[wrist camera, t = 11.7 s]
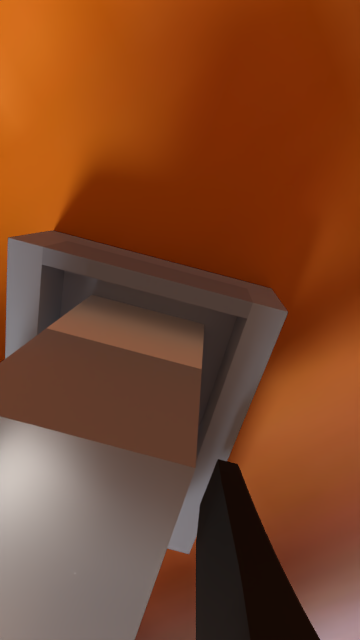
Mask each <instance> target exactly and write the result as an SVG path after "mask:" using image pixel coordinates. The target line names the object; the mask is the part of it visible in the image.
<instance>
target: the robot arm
mask: <svg viewBox="0 0 360 640" xmlns="http://www.w3.org/2000/svg"><path fill="white" fill-rule="evenodd" d="M196 640H320V639H319V637H318V635H317V633H316V631H315V630H314V628H313V626H312V624H311V623H310V621H309V619H308V617H307V615H306V613H305V611H304V610H303V608H302V606H301V604H300V602H299V600H298V598H297V596H296V594H295V592H294V590H293V588H292V586H291V584H290V582H289V580H288V578H287V576H286V574H285V572H284V570H283V568H282V566H281V564H280V562H279V560H278V558H277V556H276V554H275V552H274V549H273V547H272V545H271V543H270V541H269V538H268V536H267V534H266V532H265V529H264V527H263V525H262V523H261V520H260V518H259V516H258V513H257V511H256V509H255V506H254V504H253V501H252V499H251V496H250V494H249V491H248V489H247V486H246V484H245V481H244V478H243V476H242V473H241V470H240V468H239V466H238V464H235V463H231V462H227V461H223V460H220V459H218V460H217V462H216V465H215V467H214V470H213V472H212V475H211V478H210V480H209V483H208V485H207V488H206V490H205V493H204V495H203V498H202V500H201V503H200V508H199V518H198V528H197V539H196Z"/></svg>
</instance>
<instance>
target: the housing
mask: <svg viewBox="0 0 360 640" xmlns="http://www.w3.org/2000/svg"><path fill="white" fill-rule="evenodd" d="M203 340H204V324H201V323H197V322H193V321H189V320H186V319H182V318H178V317H174V316H170V315H167V314H163V313H159V312H155V311H152V310H148V309H144V308H140V307H136V306H133V305H129V304H125V303H121V302H117V301H114V300H110V299H106V298H102V297H98V296H95V295H90V296H89V297H88V298H86V299H85V300H84V301H82V302H81V303H80V304H78V305H77V306H76V307H74V308H73V309H72V310H70V311H69V312H68V313H66V314H65V315H64V316H62V317H61V318H60V319H58V320H57V321H55V322H54V323H53V324H51V325H50V326H49V327H47V328H46V329H45V330H43V331H42V332H41V333H39V334H38V335H37V336H35V337H34V338H33V339H31V340H30V341H29V342H27V343H26V344H25V345H23V346H22V347H21V348H19V349H18V350H17V351H15V352H14V353H12V354H11V355H10V356H8V357H7V358H6V359H4V360H3V361H2V362H0V640H135V637H136V634H137V631H138V629H139V626H140V623H141V620H142V617H143V615H144V612H145V609H146V606H147V603H148V601H149V598H150V595H151V592H152V589H153V587H154V584H155V581H156V578H157V575H158V572H159V570H160V567H161V564H162V561H163V558H164V556H165V553H166V550H167V547H168V544H169V542H170V539H171V536H172V533H173V530H174V528H175V525H176V522H177V519H178V516H179V513H180V511H181V508H182V505H183V502H184V499H185V497H186V494H187V491H188V488H189V485H190V483H191V480H192V477H193V474H194V471H195V469H196V454H197V438H198V421H199V405H200V389H201V372H202V356H203Z"/></svg>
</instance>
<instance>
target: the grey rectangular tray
mask: <svg viewBox="0 0 360 640" xmlns="http://www.w3.org/2000/svg"><path fill="white" fill-rule="evenodd" d="M90 295H95V296H98V297H102V298H106V299H110V300H114V301H117V302H121V303H125V304H129V305H133V306H136V307H140V308H144V309H148V310H152V311H155V312H159V313H163V314H167V315H170V316H174V317H178V318H182V319H186V320H189V321H193V322H197V323H201V324H204V340H203V356H202V372H201V389H200V405H199V421H198V438H197V454H196V469H195V471H194V474H193V477H192V480H191V483H190V485H189V488H188V491H187V494H186V497H185V499H184V502H183V505H182V508H181V511H180V513H179V516H178V519H177V522H176V525H175V528H174V530H173V533H172V536H171V539H170V542H169V544H168V547H167V548H168V549H171V550H175V551H179V552H183V553H186V554H189V553H190V550H191V548H192V545H193V543H194V541H195V538H196V536H197V528H198V518H199V508H200V503H201V500H202V498H203V495H204V493H205V490H206V488H207V485H208V483H209V480H210V478H211V475H212V472H213V470H214V467H215V465H216V462H217V460H218V459H220V460H223V461H227V460H228V458H229V455H230V453H231V450H232V448H233V445H234V443H235V441H236V438H237V436H238V433H239V431H240V428H241V426H242V423H243V421H244V419H245V416H246V414H247V411H248V409H249V406H250V404H251V402H252V399H253V397H254V394H255V392H256V389H257V387H258V384H259V382H260V380H261V377H262V375H263V372H264V370H265V367H266V365H267V362H268V360H269V358H270V355H271V353H272V350H273V348H274V345H275V343H276V341H277V338H278V336H279V333H280V331H281V328H282V326H283V323H284V321H285V319H286V316H287V314H288V311H287V310H286V308H285V307H284V305H283V304H282V303H281V301H280V300H279V298H278V297H277V296H276V294H275V293H274V291H273V290H272V289H271V288H268V287H264V286H260V285H256V284H253V283H249V282H245V281H241V280H238V279H234V278H230V277H226V276H223V275H219V274H215V273H211V272H207V271H204V270H200V269H196V268H192V267H189V266H185V265H181V264H177V263H174V262H170V261H166V260H162V259H158V258H155V257H151V256H147V255H143V254H140V253H136V252H132V251H128V250H125V249H121V248H117V247H113V246H109V245H106V244H102V243H98V242H94V241H91V240H87V239H83V238H79V237H76V236H72V235H68V234H64V233H60V232H57V231H46V232H40V233H34V234H27V235H21V236H15V237H9V238H8V260H7V303H6V346H5V359H6V358H7V357H8V356H10V355H11V354H12V353H14V352H15V351H17V350H18V349H19V348H21V347H22V346H23V345H25V344H26V343H27V342H29V341H30V340H31V339H33V338H34V337H35V336H37V335H38V334H39V333H41V332H42V331H43V330H45V329H46V328H47V327H49V326H50V325H51V324H53V323H54V322H55V321H57V320H58V319H60V318H61V317H62V316H64V315H65V314H66V313H68V312H69V311H70V310H72V309H73V308H74V307H76V306H77V305H78V304H80V303H81V302H82V301H84V300H85V299H86V298H88V297H89V296H90Z"/></svg>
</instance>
